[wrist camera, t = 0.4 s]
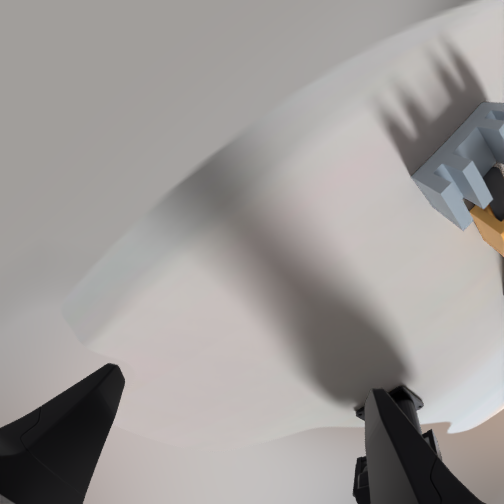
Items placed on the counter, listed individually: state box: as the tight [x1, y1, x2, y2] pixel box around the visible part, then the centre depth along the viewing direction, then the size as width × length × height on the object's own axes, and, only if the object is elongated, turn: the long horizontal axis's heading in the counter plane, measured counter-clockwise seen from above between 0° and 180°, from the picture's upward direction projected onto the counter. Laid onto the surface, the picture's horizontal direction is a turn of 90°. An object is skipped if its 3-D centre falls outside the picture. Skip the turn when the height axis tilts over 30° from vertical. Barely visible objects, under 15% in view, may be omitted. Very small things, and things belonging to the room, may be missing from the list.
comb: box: [411, 102, 504, 231], centre depth 14 cm, size 3×9×4 cm, turn 139°
